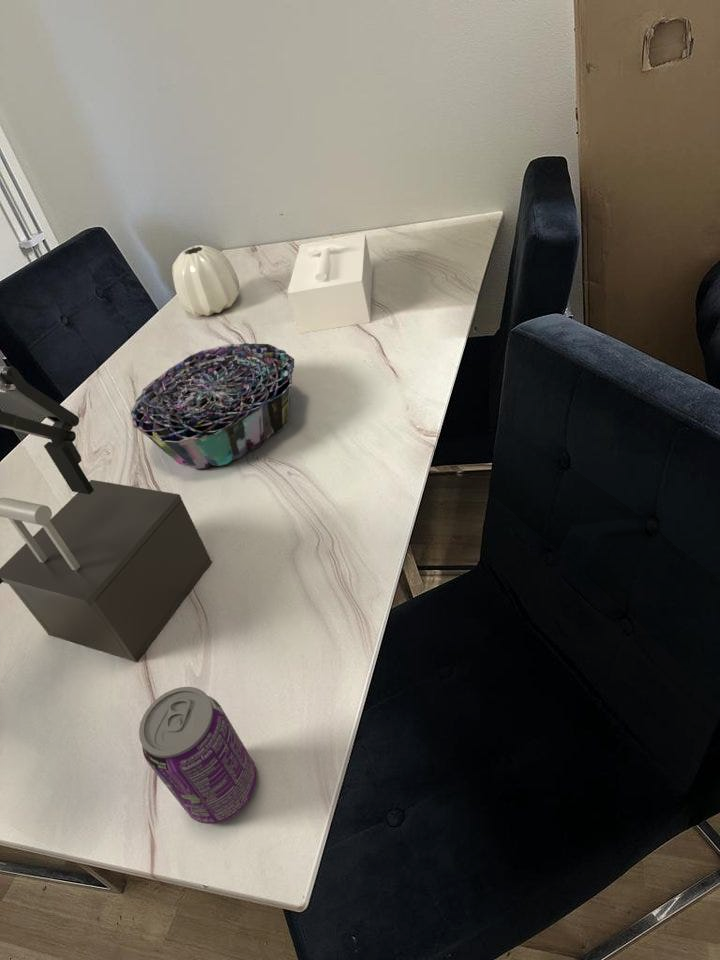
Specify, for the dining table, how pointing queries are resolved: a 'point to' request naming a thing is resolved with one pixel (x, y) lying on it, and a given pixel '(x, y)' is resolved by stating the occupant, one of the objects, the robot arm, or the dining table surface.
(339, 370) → the dining table surface
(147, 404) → the decorative bowl
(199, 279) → the vase
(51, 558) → the lid
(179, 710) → the beverage can
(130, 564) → the dark open box
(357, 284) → the white embossed block
